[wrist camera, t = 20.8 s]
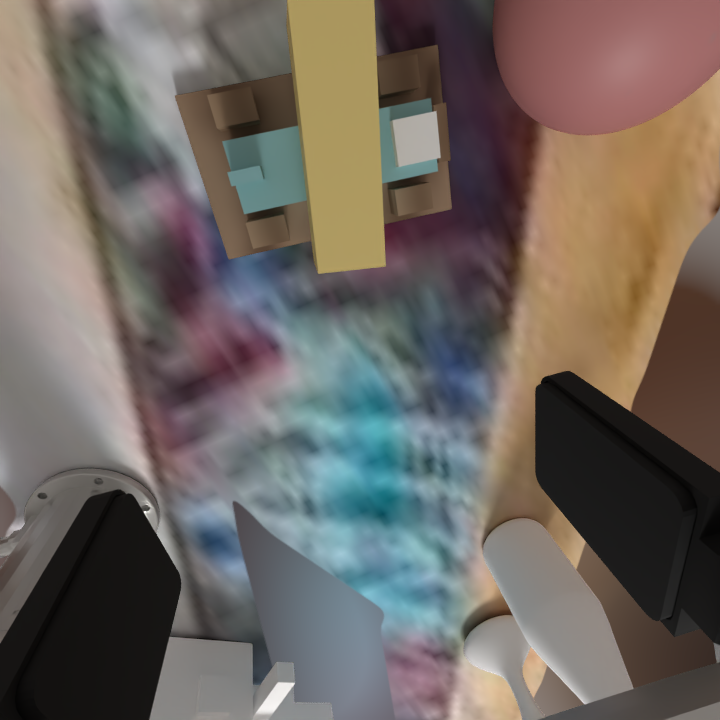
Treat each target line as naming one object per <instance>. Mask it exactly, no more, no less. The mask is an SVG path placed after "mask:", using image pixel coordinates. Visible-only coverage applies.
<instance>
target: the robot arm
mask: <svg viewBox="0 0 720 720" xmlns="http://www.w3.org/2000/svg"><path fill="white" fill-rule="evenodd" d="M535 472H536V477H537V480H538V483H539V484H540V486H541V488H542V489H543V490H544V491H545V493H546V494H547V495H548V496H549V497H550V499H551V500H552V501H553V502H554V503H555V505H556V506H557V507H558V508H559V509H560V511H561V512H562V513H563V514H564V516H565V517H566V518H567V519H568V520H569V522H570V523H571V524H572V525H573V526H574V528H575V529H576V530H577V531H578V532H579V534H580V535H581V536H582V537H583V538H584V540H585V541H586V542H587V543H588V544H589V546H590V547H591V548H592V549H593V551H594V552H595V553H596V554H597V555H598V557H599V558H601V560H602V561H603V563H604V564H605V565H606V566H607V567H608V568H609V570H610V571H611V572H612V573H613V575H614V576H615V577H616V578H617V579H618V581H619V582H620V583H621V584H622V585H623V587H624V588H625V589H626V590H627V592H628V593H629V594H630V595H631V596H632V597H633V598H634V600H635V601H636V602H637V604H638V605H639V606H640V607H641V608H642V610H643V611H644V612H645V613H646V614H647V615H648V616H649V617H650V618H652V619H653V620H655V621H659V620H660V621H661V622H662V623H663V624H664V625H665V627H666V628H667V629H668V630H669V631H670V633H671V634H672V635H673V636H674V637H676V636H679V635H682V634H685V633H688V632H691V631H695V630H698V629H702V630H703V632H704V633H705V634H706V635H707V636H708V637H709V638H710V639H711V640H712V641H713V642H714V646H715V653H716V660H717V663H715V664H712V665H709V666H705V667H702V668H699V669H695V670H692V671H688V672H685V673H682V674H678V675H675V676H672V677H668V678H665V679H662V680H659V681H656V682H653V683H650V684H647V685H644V686H640V687H637V688H634V689H631V690H628V691H625V692H622V693H619V694H616V695H612V696H609V697H606V698H603V699H600V700H597V701H594V702H591V703H588V704H585V705H582V706H579V707H575V708H572V709H569V710H566V711H563V712H560V713H557V714H554V715H551V716H548V717H545V718H541V719H538V720H720V473H719V472H718V471H716V470H715V469H713V468H712V467H711V466H709V465H707V464H706V463H705V462H703V461H702V460H700V459H699V458H697V457H696V456H695V455H693V454H691V453H690V452H688V451H687V450H686V449H684V448H683V447H681V446H680V445H678V444H677V443H675V442H674V441H672V440H671V439H669V438H668V437H667V436H665V435H664V434H662V433H661V432H659V431H658V430H656V429H655V428H653V427H652V426H650V425H649V424H647V423H646V422H645V421H643V420H642V419H640V418H639V417H637V416H636V415H634V414H633V413H631V412H630V411H628V410H627V409H625V408H624V407H623V406H621V405H620V404H618V403H617V402H615V401H614V400H612V399H611V398H609V397H608V396H606V395H605V394H603V393H602V392H601V391H599V390H598V389H596V388H595V387H593V386H592V385H590V384H589V383H587V382H586V381H584V380H583V379H581V378H580V377H578V376H577V375H576V374H574V373H572V372H570V371H565V372H561V373H557V374H553V375H550V376H546V377H544V378H543V379H542V381H541V384H540V385H538V386H537V387H536V391H535ZM159 520H160V513H159V508H158V505H157V503H156V501H155V499H154V497H153V496H152V495H151V493H150V492H149V491H148V490H147V489H146V488H145V487H144V486H142V485H141V484H140V483H138V482H137V481H135V480H133V479H132V478H130V477H128V476H125V475H123V474H120V473H117V472H113V471H109V470H103V469H94V468H90V469H76V470H70V471H66V472H63V473H60V474H57V475H55V476H53V477H51V478H49V479H48V480H46V481H45V482H43V483H42V484H41V485H40V486H39V487H38V488H37V489H36V490H35V492H34V493H33V494H32V495H31V497H30V498H29V500H28V502H27V504H26V506H25V511H24V521H25V525H24V526H23V528H22V529H20V530H17V531H14V532H13V533H12V534H11V535H10V536H8V537H1V538H0V558H2V557H5V556H6V555H9V556H8V558H7V559H6V560H5V562H4V563H3V565H2V566H1V568H0V720H149V719H150V715H151V711H152V706H153V702H154V698H155V694H156V690H157V686H158V682H159V678H160V674H161V669H162V665H163V661H164V657H165V653H166V649H167V645H168V641H169V637H170V632H171V628H172V624H173V620H174V616H175V612H176V608H177V604H178V600H179V595H180V591H181V578H180V574H179V572H178V570H177V569H176V567H175V565H174V564H173V562H172V560H171V558H170V557H169V555H168V553H167V551H166V550H165V548H164V546H163V545H162V543H161V541H160V539H159V538H158V536H157V534H156V531H157V528H158V525H159Z"/></svg>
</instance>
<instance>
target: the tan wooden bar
mask: <svg viewBox="0 0 720 720" xmlns="http://www.w3.org/2000/svg"><path fill="white" fill-rule="evenodd" d="M286 26H287V34H288V43H289V52H290V60H291V69H292V77H293V86H294V94H295V103H296V112H297V120H298V129H299V137H300V146H301V154H302V163H303V172H304V180H305V189H306V197H307V206H308V214H309V223H310V232H311V240H312V249H313V257H314V263H315V266H316V269H317V271H318V274H320V273H329V272H339V271H348V270H357V269H366V268H375V267H385V266H386V263H385V240H384V217H383V194H382V171H381V147H380V124H379V101H378V78H377V55H376V31H375V8H374V0H287V24H286Z"/></svg>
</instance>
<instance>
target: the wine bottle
mask: <svg viewBox="0 0 720 720" xmlns="http://www.w3.org/2000/svg"><path fill="white" fill-rule="evenodd" d="M483 556H484V560H485V563H486V565H487V566H488V568H489V570H490V572H491V574H492V576H493V578H494V580H495V582H496V584H497V585H498V587H499V589H500V591H501V593H502V595H503V597H504V599H505V601H506V603H507V605H508V606H509V608H510V610H511V612H512V614H513V616H514V618H515V620H516V622H517V624H518V626H519V627H520V629H521V631H522V633H523V635H524V637H525V639H526V640H527V642H528V643H529V645H530V646H531V647H532V648H533V650H534V651H535V652H536V653H537V654H538V655H539V656H540V658H541V659H542V660H543V661H544V662H545V663H546V664H547V665H548V666H549V667H550V668H551V669H552V670H553V671H554V672H555V673H556V674H557V675H558V676H559V677H560V678H561V680H562V681H563V682H564V683H565V684H566V685H567V686H568V687H569V688H570V689H571V690H572V691H573V692H574V693H575V694H576V695H577V696H578V698H579V699H580V700H581V701H582V702H583V703H584V704H588V703H591V702H594V701H597V700H600V699H603V698H606V697H609V696H612V695H616V694H619V693H622V692H625V691H628V690H631V689H634V688H633V686H632V683H631V680H630V678H629V675H628V673H627V670H626V667H625V665H624V662H623V659H622V657H621V654H620V652H619V649H618V646H617V643H616V641H615V639H614V635H613V632H612V630H611V627H610V624H609V622H608V619H607V617H606V614H605V612H604V610H603V607H602V605H601V603H600V602H599V600H598V599H597V597H596V596H595V595H594V593H593V592H592V590H591V589H590V588H589V586H588V585H587V584H586V582H585V581H584V580H583V578H582V577H581V576H580V574H579V573H578V572H577V570H576V569H575V568H574V566H573V565H572V564H571V562H570V561H569V560H568V558H567V557H566V556H565V554H564V553H563V552H562V550H561V549H560V547H559V546H558V545H557V543H556V542H555V541H554V539H553V538H552V537H551V535H550V534H549V533H548V531H547V530H546V529H545V527H544V526H542V525H541V524H540V523H538V522H537V521H535V520H532V519H528V518H517V519H513V520H509V521H507V522H505V523H503V524H501V525H499V526H498V527H496V528H495V529H494V530H493V531H492V532H491V533H490V534H489V536H488V537H487V539H486V541H485V543H484V546H483Z"/></svg>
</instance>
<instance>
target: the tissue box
mask: <svg viewBox="0 0 720 720" xmlns="http://www.w3.org/2000/svg"><path fill="white" fill-rule="evenodd" d="M294 684H295V673H294V663H293V662H276V663H275V665H274V666H273V668H272V669H271V670H270V672H269V673H268V675H267V676H266V678H265V679H264V680H263V682H262V683H261V685H253V644H251V643H242V642H229V641H216V640H203V639H190V638H177V637H169V641H168V645H167V649H166V653H165V657H164V661H163V665H162V669H161V674H160V678H159V682H158V686H157V690H156V694H155V698H154V702H153V706H152V711H151V715H150V719H149V720H333V713H332V706H331V703H297V702H294V690H293V685H294Z"/></svg>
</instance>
